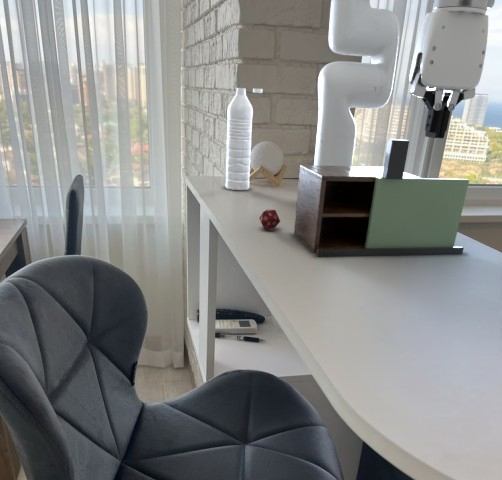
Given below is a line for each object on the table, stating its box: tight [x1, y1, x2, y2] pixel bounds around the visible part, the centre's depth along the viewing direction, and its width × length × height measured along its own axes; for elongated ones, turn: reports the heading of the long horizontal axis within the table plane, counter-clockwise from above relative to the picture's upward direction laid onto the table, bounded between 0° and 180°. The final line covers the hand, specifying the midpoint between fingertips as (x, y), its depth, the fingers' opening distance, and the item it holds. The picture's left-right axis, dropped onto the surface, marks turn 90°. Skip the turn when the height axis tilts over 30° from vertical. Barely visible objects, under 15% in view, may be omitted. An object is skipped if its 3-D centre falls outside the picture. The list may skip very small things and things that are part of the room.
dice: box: [259, 209, 281, 230], centre depth 100 cm, size 4×4×4 cm
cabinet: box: [293, 164, 465, 257], centre depth 92 cm, size 14×28×13 cm, turn 102°
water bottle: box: [225, 87, 264, 191], centre depth 134 cm, size 9×6×25 cm
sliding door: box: [365, 138, 470, 248], centre depth 87 cm, size 2×17×19 cm, turn 103°
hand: (434, 137), depth 82 cm, fingers closed
